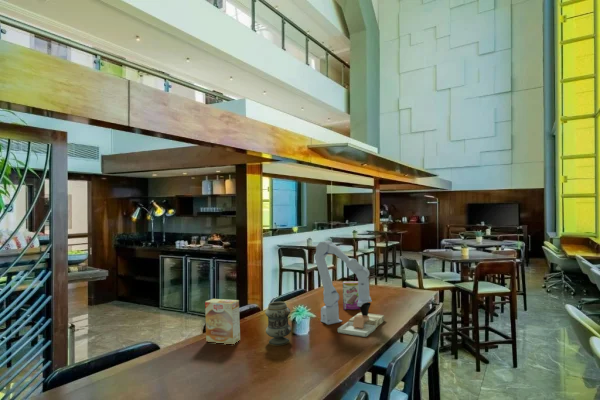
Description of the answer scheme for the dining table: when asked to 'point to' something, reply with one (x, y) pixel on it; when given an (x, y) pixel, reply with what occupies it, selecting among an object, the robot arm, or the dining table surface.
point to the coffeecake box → (222, 321)
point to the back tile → (364, 317)
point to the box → (356, 329)
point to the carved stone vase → (278, 323)
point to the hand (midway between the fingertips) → (365, 317)
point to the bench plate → (371, 319)
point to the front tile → (358, 322)
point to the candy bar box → (350, 295)
